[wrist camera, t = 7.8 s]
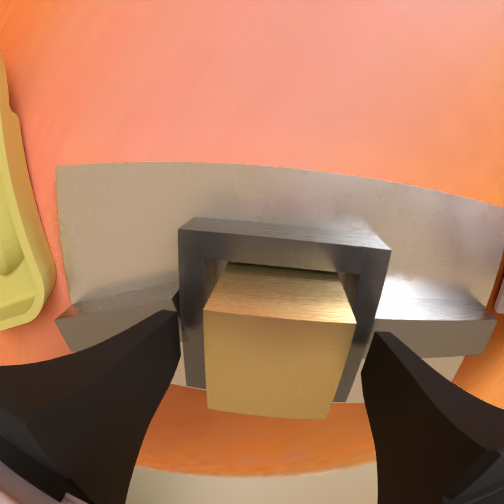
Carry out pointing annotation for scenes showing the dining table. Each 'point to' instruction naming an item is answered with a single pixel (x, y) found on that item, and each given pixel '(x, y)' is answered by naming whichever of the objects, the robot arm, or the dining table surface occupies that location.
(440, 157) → the dining table surface
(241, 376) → the tan small block
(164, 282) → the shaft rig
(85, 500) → the robot arm
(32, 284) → the plastic component
